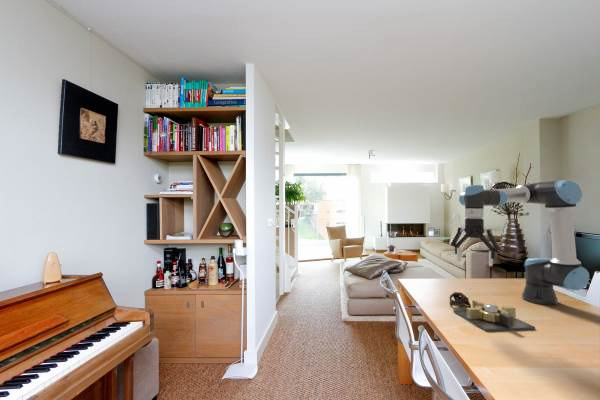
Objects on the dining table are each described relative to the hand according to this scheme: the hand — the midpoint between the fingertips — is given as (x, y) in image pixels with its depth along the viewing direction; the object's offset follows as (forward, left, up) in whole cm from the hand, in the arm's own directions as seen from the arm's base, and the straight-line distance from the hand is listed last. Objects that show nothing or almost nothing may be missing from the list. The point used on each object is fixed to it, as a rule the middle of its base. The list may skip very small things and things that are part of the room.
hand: (474, 263), depth 135 cm
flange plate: (-5, +4, -25) cm, 26 cm away
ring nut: (-5, +4, -24) cm, 25 cm away
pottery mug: (-2, -15, -26) cm, 30 cm away
